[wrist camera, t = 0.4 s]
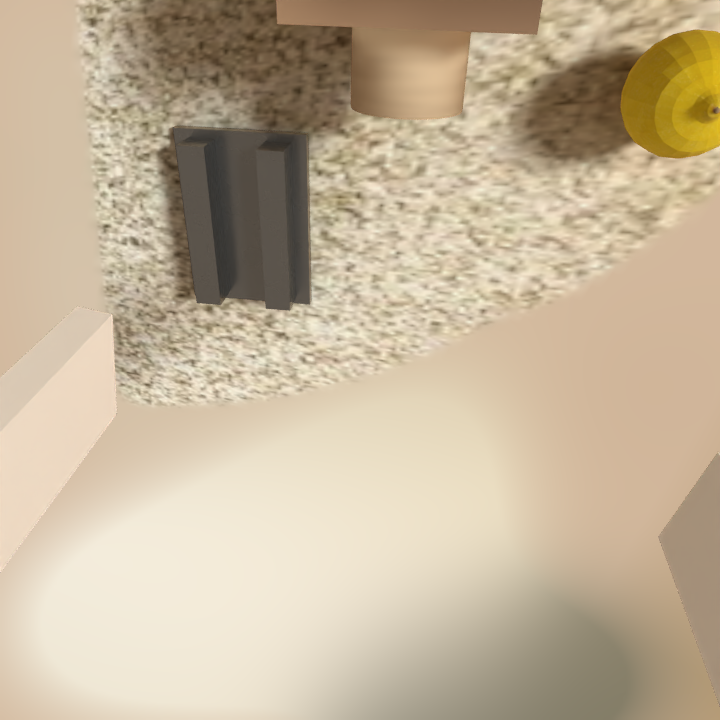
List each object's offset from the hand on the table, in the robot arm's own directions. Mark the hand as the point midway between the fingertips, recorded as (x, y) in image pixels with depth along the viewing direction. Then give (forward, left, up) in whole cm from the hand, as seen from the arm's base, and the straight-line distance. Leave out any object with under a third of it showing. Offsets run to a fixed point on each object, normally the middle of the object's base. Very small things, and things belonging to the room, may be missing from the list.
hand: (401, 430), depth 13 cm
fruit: (-4, +12, -27) cm, 29 cm away
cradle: (+5, -11, -26) cm, 29 cm away
